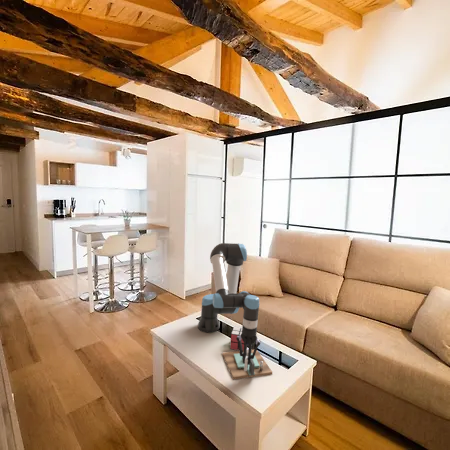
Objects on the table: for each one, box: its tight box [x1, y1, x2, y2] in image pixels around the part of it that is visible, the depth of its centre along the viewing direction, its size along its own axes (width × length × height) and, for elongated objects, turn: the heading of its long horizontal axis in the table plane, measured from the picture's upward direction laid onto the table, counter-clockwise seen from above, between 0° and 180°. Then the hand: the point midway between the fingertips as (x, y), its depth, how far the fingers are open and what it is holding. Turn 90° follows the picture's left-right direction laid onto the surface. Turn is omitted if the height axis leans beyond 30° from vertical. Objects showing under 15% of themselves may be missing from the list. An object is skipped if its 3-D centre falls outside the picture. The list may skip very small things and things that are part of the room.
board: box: [221, 349, 273, 380], centre depth 146 cm, size 22×22×7 cm
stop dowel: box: [260, 361, 263, 371], centre depth 139 cm, size 2×2×5 cm
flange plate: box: [234, 353, 260, 375], centre depth 142 cm, size 20×12×7 cm, turn 9°
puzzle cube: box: [229, 326, 244, 351], centre depth 163 cm, size 10×10×10 cm
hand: (245, 369), depth 135 cm, fingers closed
